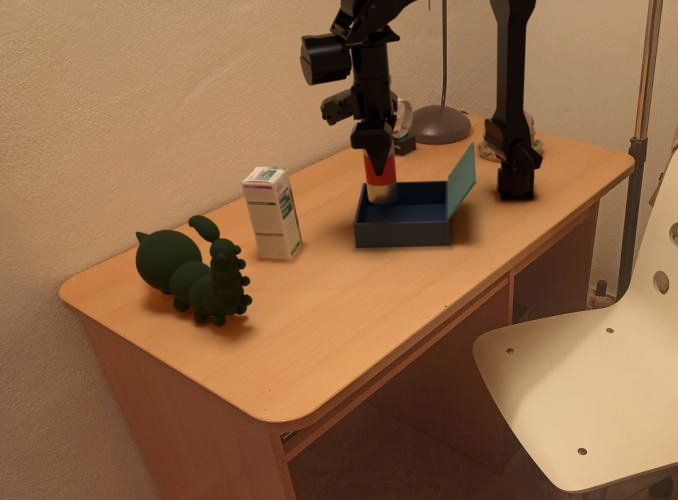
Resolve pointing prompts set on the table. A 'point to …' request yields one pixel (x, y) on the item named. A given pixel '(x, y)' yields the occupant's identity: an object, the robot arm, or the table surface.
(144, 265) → the toy figurine
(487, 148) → the ceramic model
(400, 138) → the watch
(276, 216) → the syrup box
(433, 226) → the dark blue open box
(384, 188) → the can
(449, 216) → the lid
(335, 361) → the table surface
